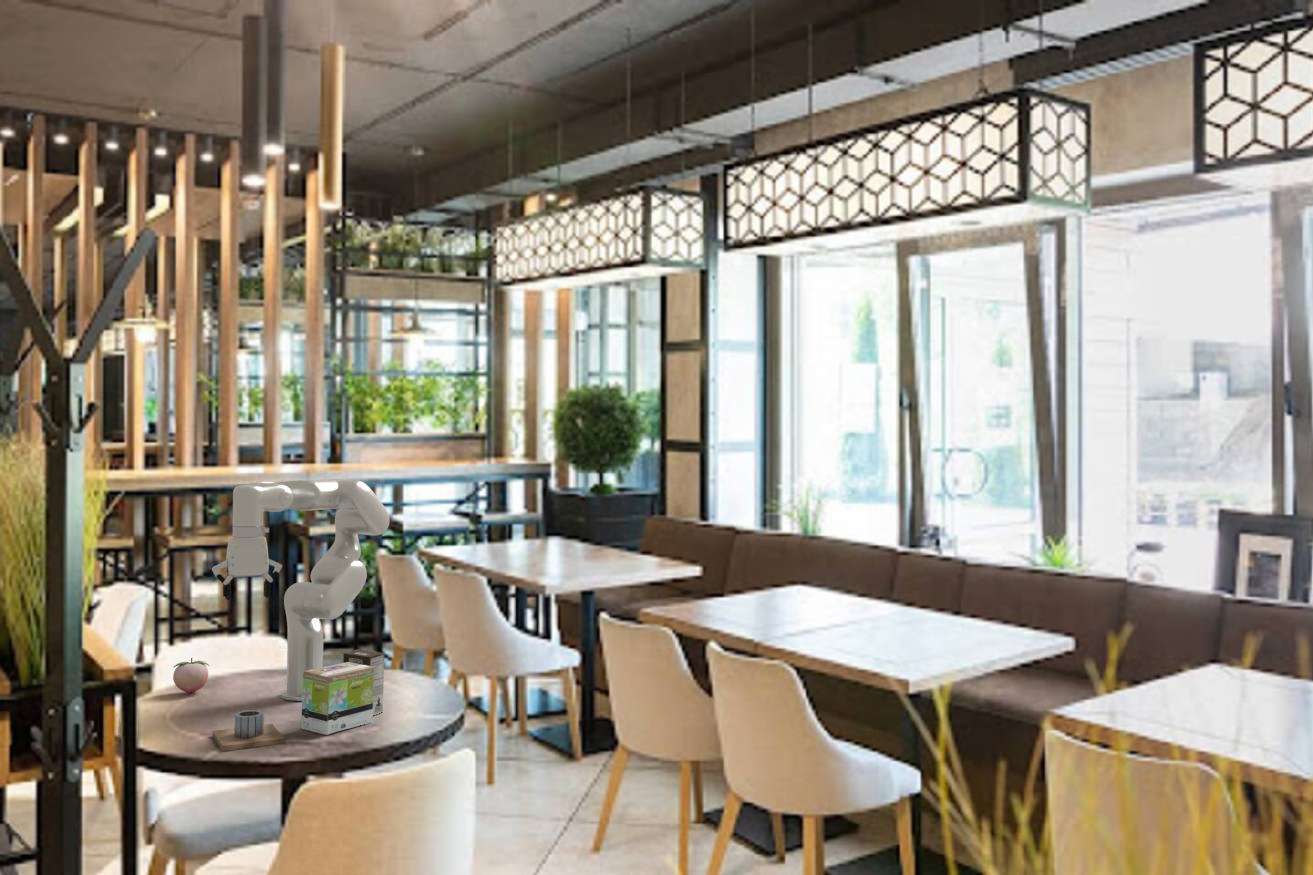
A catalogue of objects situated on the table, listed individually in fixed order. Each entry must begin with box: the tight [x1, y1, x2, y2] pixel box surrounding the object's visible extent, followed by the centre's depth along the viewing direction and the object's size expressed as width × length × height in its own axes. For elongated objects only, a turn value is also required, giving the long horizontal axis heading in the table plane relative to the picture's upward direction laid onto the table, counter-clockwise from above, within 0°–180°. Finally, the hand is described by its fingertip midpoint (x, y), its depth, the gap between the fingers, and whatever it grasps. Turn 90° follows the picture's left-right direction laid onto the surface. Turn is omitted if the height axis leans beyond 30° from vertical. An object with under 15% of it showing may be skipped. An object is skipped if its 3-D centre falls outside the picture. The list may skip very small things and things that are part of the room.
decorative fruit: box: [172, 657, 210, 695], centre depth 309 cm, size 9×8×10 cm
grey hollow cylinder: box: [234, 709, 265, 738], centre depth 268 cm, size 6×6×5 cm
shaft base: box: [211, 723, 286, 752], centre depth 268 cm, size 14×14×4 cm
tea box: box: [300, 662, 374, 736], centre depth 281 cm, size 15×10×15 cm
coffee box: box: [342, 648, 385, 716], centre depth 293 cm, size 9×6×16 cm
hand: (247, 598), depth 290 cm, fingers open, 9 cm apart
